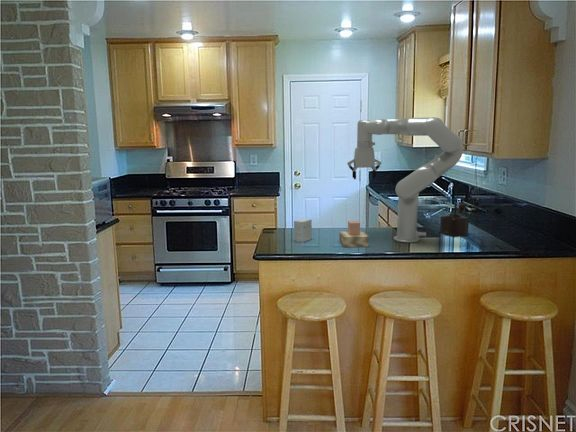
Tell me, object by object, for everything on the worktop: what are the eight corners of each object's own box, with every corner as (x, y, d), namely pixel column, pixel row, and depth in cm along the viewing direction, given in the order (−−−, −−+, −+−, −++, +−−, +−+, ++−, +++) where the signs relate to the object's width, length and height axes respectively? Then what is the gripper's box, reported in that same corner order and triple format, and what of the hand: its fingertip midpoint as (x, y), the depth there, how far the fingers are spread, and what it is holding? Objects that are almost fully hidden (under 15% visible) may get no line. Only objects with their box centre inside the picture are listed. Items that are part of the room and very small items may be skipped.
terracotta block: (357, 232, 228) (358, 220, 227) (359, 235, 223) (360, 222, 222) (347, 233, 228) (347, 221, 227) (349, 235, 223) (349, 223, 222)
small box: (303, 237, 241) (303, 218, 239) (312, 239, 238) (311, 219, 236) (293, 240, 235) (293, 220, 233) (302, 242, 231) (302, 221, 229)
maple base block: (363, 240, 233) (363, 230, 232) (368, 246, 221) (368, 236, 220) (339, 241, 232) (339, 231, 231) (343, 247, 221) (343, 237, 220)
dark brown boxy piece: (438, 233, 246) (439, 200, 243) (453, 231, 251) (455, 198, 247) (460, 239, 232) (462, 204, 229) (476, 237, 237) (478, 202, 234)
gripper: (379, 144, 237) (378, 177, 240) (346, 145, 236) (346, 178, 239) (383, 145, 230) (382, 179, 233) (349, 145, 229) (348, 180, 232)
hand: (364, 178), depth 236 cm, fingers open, 9 cm apart
